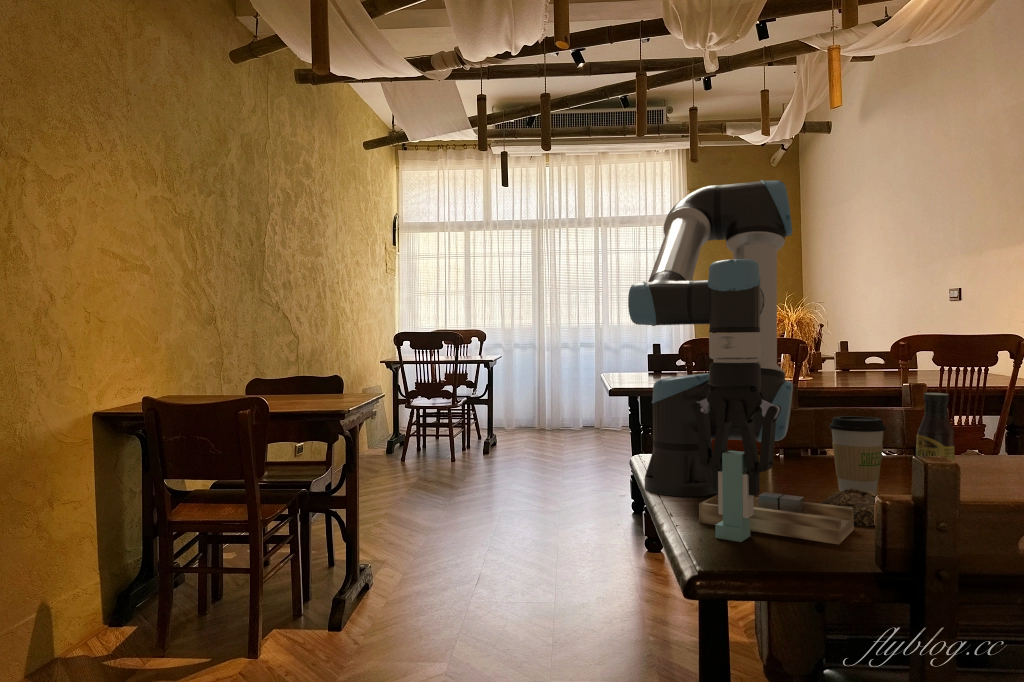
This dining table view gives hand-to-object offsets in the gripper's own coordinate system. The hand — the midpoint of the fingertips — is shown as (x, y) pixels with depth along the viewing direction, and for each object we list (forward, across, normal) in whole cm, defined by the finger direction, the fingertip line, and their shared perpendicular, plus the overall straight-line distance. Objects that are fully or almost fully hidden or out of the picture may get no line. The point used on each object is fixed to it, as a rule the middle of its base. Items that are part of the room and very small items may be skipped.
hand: (735, 514), depth 107 cm
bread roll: (+4, +12, +25) cm, 28 cm away
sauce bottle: (+4, +21, +48) cm, 53 cm away
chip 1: (0, +2, +10) cm, 10 cm away
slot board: (+4, +3, +10) cm, 11 cm away
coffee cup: (+4, +9, +41) cm, 42 cm away
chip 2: (0, +6, +10) cm, 11 cm away
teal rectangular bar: (+4, 0, 0) cm, 4 cm away
